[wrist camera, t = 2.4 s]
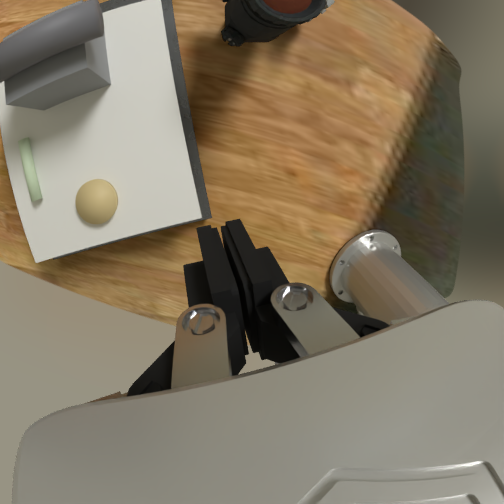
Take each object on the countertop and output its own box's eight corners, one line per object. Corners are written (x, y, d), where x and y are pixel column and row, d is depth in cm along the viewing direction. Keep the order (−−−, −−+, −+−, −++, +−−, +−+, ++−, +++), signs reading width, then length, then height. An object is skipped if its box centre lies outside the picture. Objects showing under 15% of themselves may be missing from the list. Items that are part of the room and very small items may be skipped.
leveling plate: (201, 214, 29) (209, 257, 18) (41, 257, 27) (-12, 312, 16) (161, 3, 21) (151, -61, 10) (2, 65, 18) (-62, 46, 8)
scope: (381, -10, 14) (296, 65, 17) (308, 17, 26) (249, 74, 28) (303, -83, 10) (200, -15, 13) (255, -29, 22) (190, 27, 24)
